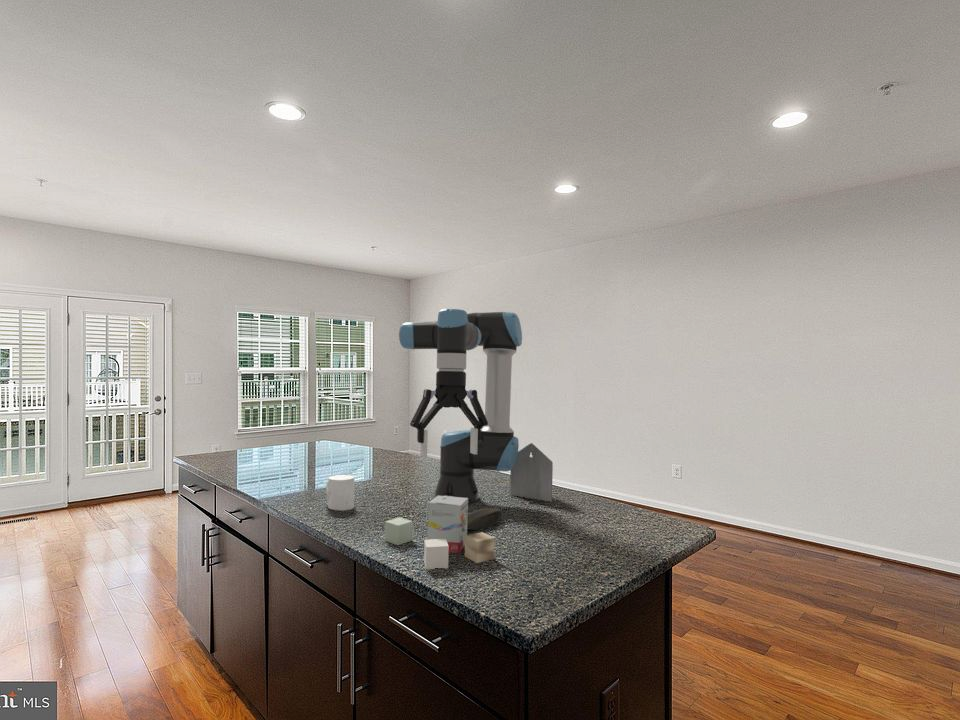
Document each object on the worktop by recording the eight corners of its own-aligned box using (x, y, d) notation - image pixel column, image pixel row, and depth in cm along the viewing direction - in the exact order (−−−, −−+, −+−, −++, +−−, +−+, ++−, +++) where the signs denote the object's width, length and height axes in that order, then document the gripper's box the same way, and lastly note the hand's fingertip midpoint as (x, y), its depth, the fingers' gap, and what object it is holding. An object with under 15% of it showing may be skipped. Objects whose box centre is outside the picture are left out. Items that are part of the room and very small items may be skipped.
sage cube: (399, 536, 134) (399, 517, 134) (412, 540, 131) (412, 521, 131) (384, 541, 130) (385, 521, 131) (397, 545, 127) (398, 525, 127)
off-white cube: (445, 560, 118) (445, 538, 118) (448, 568, 113) (448, 546, 113) (423, 561, 117) (424, 539, 117) (425, 569, 112) (426, 547, 112)
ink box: (460, 554, 122) (461, 504, 122) (426, 550, 124) (427, 502, 124) (468, 542, 131) (469, 496, 131) (436, 539, 132) (437, 493, 133)
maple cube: (481, 552, 123) (482, 532, 124) (494, 559, 119) (494, 537, 120) (464, 556, 120) (465, 535, 121) (476, 563, 116) (477, 541, 117)
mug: (360, 477, 162) (339, 481, 156) (360, 507, 162) (338, 512, 155) (339, 472, 170) (317, 475, 163) (338, 500, 169) (317, 505, 163)
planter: (560, 497, 179) (561, 442, 180) (551, 502, 173) (552, 445, 173) (520, 491, 188) (520, 438, 188) (509, 495, 181) (510, 441, 182)
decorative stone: (465, 535, 137) (466, 519, 137) (449, 530, 141) (449, 515, 141) (507, 522, 149) (507, 508, 149) (490, 517, 154) (491, 504, 154)
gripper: (488, 371, 137) (486, 450, 136) (399, 369, 126) (396, 455, 125) (501, 371, 130) (499, 454, 130) (408, 369, 119) (406, 459, 119)
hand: (449, 455), depth 127 cm, fingers open, 13 cm apart
